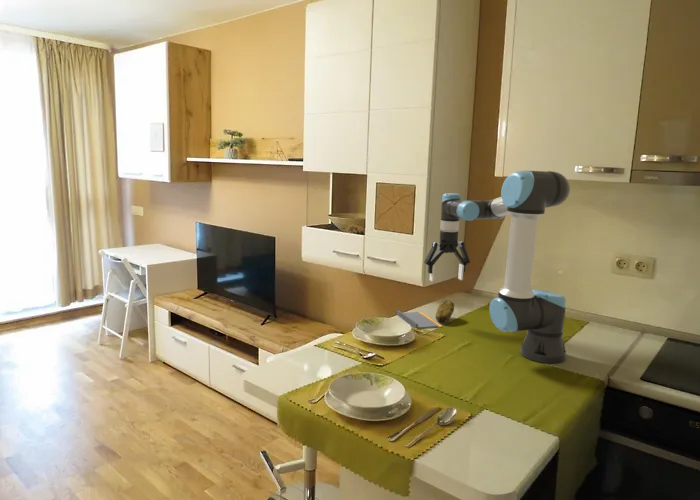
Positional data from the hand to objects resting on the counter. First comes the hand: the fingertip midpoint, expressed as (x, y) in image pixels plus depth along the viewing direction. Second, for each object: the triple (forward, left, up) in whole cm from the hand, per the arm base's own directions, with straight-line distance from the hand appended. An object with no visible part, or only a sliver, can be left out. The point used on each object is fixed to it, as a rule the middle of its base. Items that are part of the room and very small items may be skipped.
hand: (446, 280), depth 217 cm
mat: (+1, +12, -17) cm, 21 cm away
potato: (-1, 0, -18) cm, 18 cm away
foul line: (+1, +6, -17) cm, 18 cm away
